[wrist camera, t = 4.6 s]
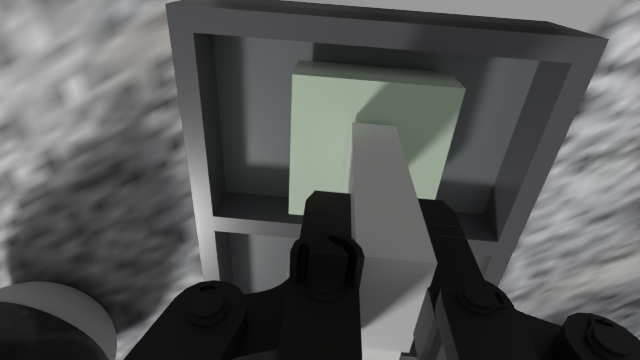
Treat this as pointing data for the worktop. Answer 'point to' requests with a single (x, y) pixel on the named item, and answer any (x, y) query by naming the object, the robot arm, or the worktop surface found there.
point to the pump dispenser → (53, 324)
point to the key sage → (368, 122)
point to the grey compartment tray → (369, 50)
